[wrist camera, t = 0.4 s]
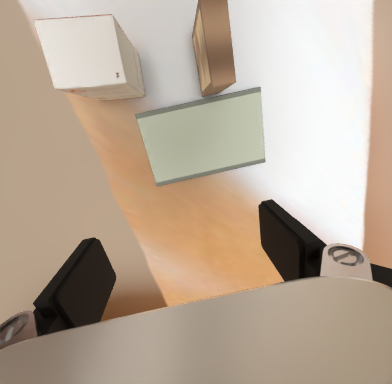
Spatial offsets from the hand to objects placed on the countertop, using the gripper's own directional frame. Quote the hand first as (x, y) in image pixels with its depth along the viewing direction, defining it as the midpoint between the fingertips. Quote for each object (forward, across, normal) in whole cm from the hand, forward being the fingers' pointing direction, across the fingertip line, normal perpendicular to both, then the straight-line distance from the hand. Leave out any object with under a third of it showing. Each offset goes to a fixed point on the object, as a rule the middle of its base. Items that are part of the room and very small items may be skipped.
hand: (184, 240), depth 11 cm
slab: (+29, -8, -14) cm, 33 cm away
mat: (+28, -5, -2) cm, 29 cm away
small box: (+29, +7, -15) cm, 33 cm away
